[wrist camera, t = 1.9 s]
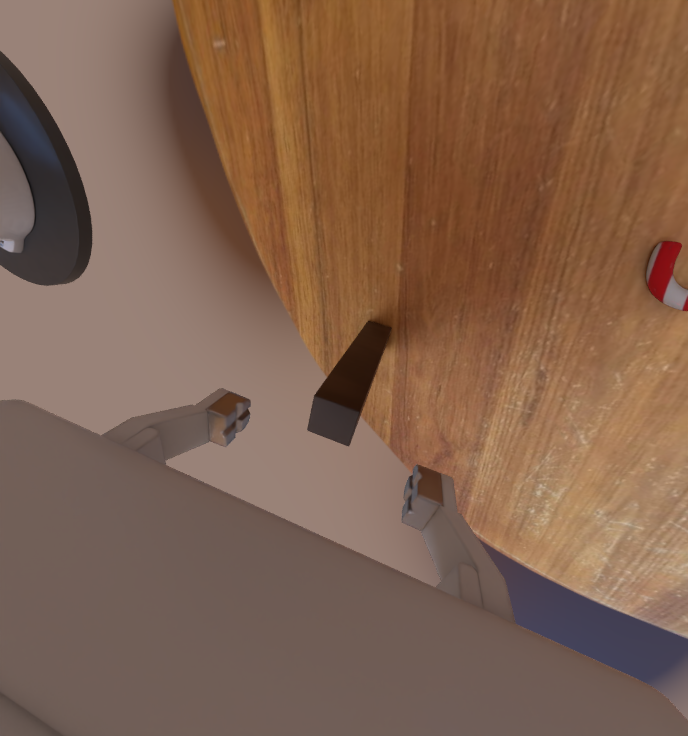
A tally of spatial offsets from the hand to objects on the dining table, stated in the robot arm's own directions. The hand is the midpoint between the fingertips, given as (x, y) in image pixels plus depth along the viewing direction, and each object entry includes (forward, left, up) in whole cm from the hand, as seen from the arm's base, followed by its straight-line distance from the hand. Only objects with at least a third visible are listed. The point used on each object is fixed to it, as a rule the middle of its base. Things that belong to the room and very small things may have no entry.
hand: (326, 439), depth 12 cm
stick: (0, 0, -15) cm, 15 cm away
